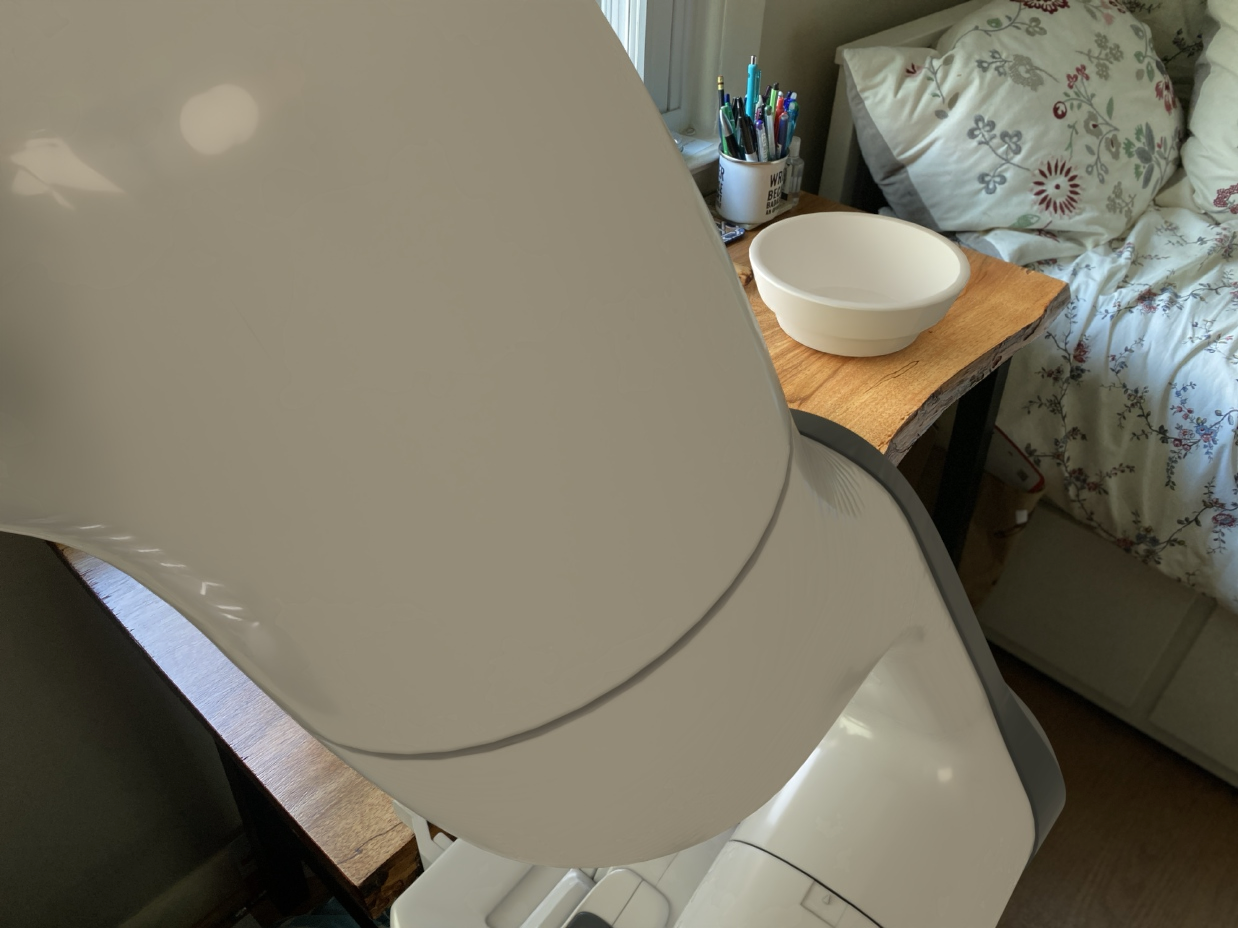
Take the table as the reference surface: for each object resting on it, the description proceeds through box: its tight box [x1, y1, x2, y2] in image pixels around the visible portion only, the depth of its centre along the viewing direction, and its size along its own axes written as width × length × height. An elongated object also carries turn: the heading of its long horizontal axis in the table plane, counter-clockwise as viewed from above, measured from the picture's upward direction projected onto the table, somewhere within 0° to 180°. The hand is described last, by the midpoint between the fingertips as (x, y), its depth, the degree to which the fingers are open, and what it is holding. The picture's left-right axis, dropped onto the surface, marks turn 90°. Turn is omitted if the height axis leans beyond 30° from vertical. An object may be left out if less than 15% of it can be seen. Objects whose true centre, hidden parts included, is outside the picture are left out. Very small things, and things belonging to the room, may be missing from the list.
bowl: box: [748, 211, 971, 358], centre depth 99 cm, size 22×22×8 cm
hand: (468, 737), depth 52 cm, fingers open, 8 cm apart
